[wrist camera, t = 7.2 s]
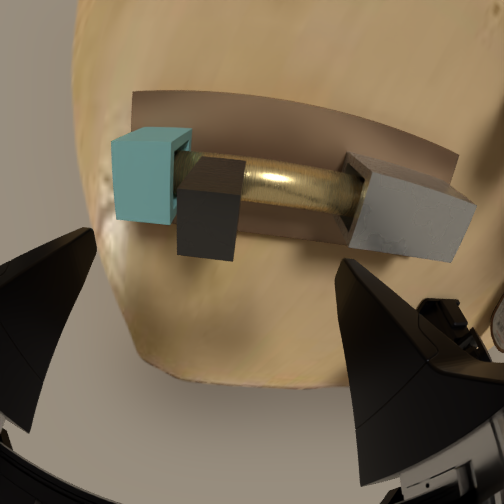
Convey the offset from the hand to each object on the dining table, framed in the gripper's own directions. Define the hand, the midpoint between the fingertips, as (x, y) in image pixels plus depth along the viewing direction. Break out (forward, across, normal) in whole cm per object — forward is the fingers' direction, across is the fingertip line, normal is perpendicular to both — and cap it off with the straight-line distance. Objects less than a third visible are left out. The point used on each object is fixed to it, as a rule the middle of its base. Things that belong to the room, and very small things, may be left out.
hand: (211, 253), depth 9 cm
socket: (+11, +5, 0) cm, 12 cm away
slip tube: (+10, -2, 0) cm, 10 cm away
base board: (+12, -5, 0) cm, 13 cm away
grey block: (+11, -12, 0) cm, 16 cm away
